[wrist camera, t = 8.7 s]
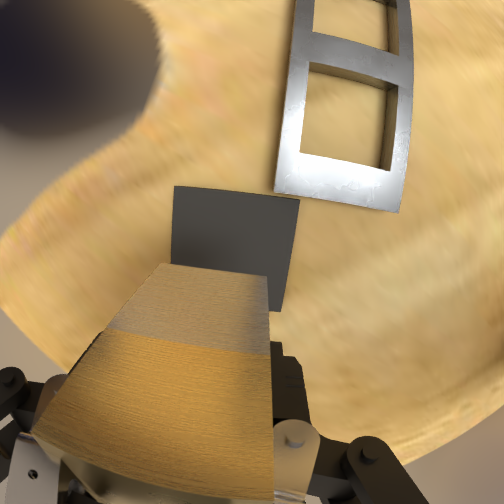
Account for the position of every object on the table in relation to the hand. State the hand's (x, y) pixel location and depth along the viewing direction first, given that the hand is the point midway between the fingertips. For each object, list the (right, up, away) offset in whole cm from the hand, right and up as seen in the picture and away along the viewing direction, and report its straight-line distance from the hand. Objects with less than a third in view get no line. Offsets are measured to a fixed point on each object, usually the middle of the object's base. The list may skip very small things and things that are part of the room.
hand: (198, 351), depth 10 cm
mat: (0, +4, +11) cm, 12 cm away
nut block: (0, +1, +2) cm, 3 cm away
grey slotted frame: (+9, +18, +6) cm, 21 cm away
